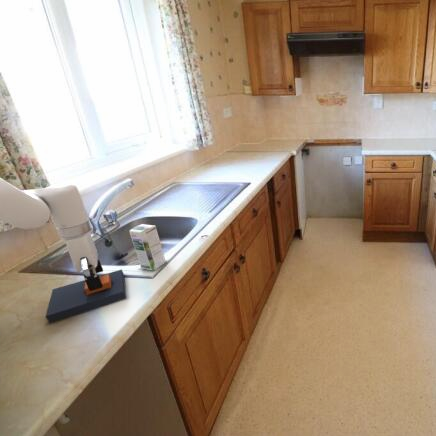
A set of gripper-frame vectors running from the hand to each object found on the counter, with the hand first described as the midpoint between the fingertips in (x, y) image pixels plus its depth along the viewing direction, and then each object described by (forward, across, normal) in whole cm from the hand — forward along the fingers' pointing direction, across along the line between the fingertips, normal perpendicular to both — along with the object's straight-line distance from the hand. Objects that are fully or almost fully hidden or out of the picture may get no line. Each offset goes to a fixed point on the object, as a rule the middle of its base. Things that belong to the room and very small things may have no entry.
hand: (96, 280), depth 95 cm
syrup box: (+5, -8, +15) cm, 18 cm away
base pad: (+5, 0, -3) cm, 6 cm away
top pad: (+5, 0, 0) cm, 5 cm away
